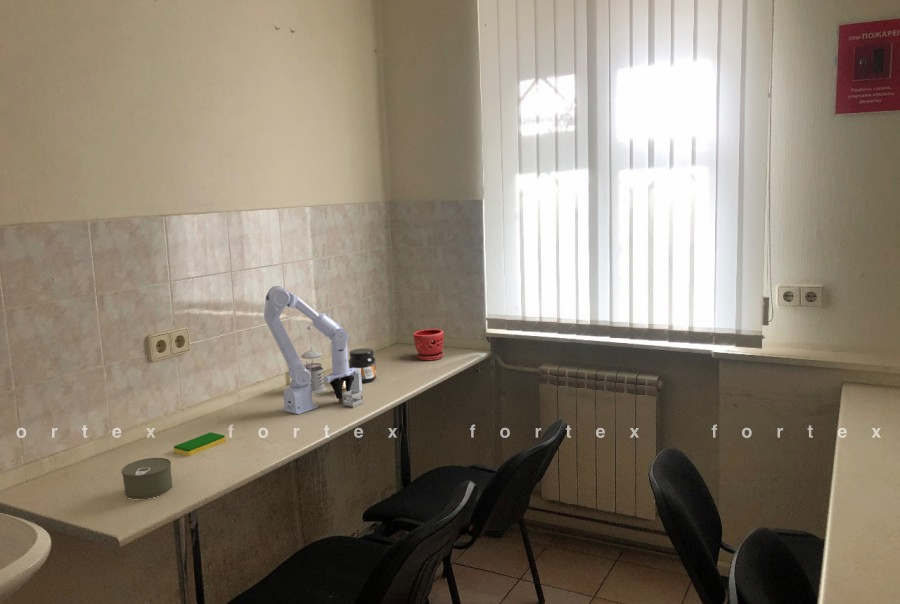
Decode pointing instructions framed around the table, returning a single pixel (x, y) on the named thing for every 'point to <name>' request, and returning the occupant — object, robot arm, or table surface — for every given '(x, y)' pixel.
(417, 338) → the plant pot
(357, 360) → the supplement container
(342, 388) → the gold domed cylinder
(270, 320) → the robot arm
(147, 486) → the can
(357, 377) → the medicine box
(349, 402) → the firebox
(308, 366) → the french press
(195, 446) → the dish sponge
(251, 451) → the table surface
